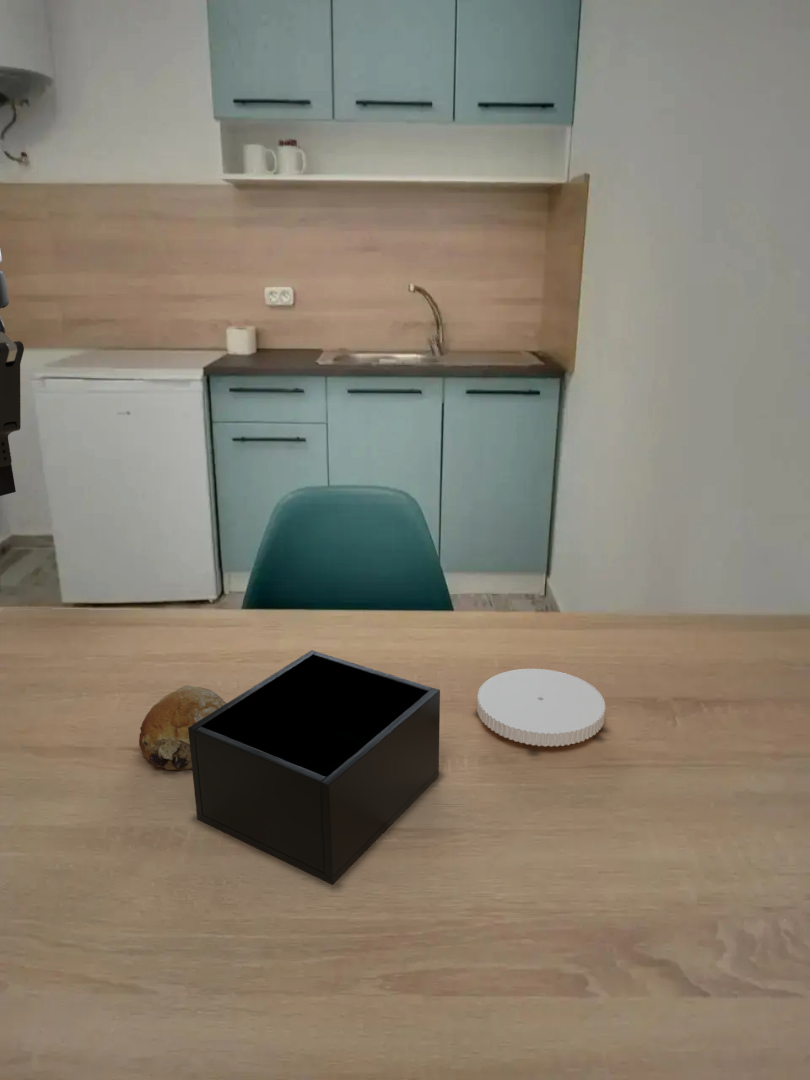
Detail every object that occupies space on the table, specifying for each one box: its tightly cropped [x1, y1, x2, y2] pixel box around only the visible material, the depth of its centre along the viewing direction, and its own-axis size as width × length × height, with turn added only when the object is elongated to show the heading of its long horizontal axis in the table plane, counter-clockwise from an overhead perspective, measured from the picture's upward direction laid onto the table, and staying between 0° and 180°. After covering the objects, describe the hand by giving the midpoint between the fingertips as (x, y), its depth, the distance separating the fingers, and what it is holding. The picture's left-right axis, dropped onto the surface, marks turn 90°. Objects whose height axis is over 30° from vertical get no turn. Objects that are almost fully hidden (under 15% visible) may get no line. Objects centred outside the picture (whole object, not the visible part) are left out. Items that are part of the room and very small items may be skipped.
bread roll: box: [138, 685, 228, 771], centre depth 87 cm, size 10×10×8 cm
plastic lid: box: [476, 667, 606, 748], centre depth 92 cm, size 14×14×2 cm
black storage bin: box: [188, 649, 441, 885], centre depth 78 cm, size 16×18×10 cm
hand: (0, 493), depth 91 cm, fingers closed
